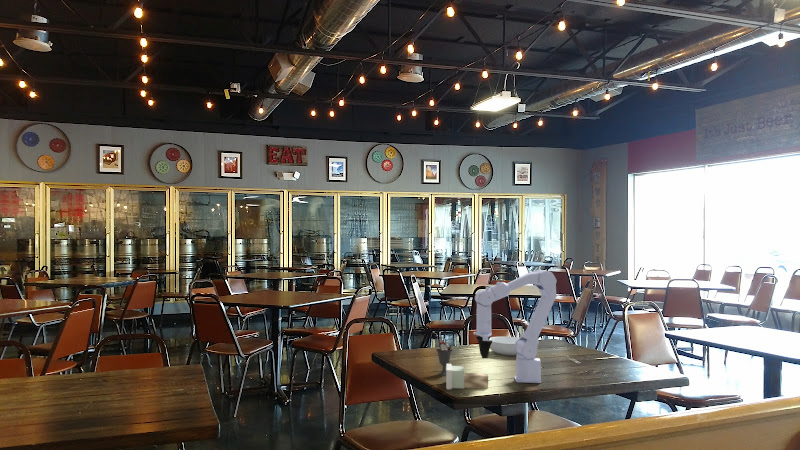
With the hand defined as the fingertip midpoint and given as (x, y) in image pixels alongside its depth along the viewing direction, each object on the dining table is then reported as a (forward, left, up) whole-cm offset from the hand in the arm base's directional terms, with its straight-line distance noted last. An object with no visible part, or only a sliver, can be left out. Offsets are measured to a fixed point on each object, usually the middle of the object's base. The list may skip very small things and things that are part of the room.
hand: (483, 356), depth 224 cm
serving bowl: (-15, -55, -10) cm, 58 cm away
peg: (+5, +8, -10) cm, 14 cm away
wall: (+14, +8, -10) cm, 18 cm away
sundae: (+16, -10, -10) cm, 21 cm away
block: (+10, +8, -10) cm, 16 cm away
